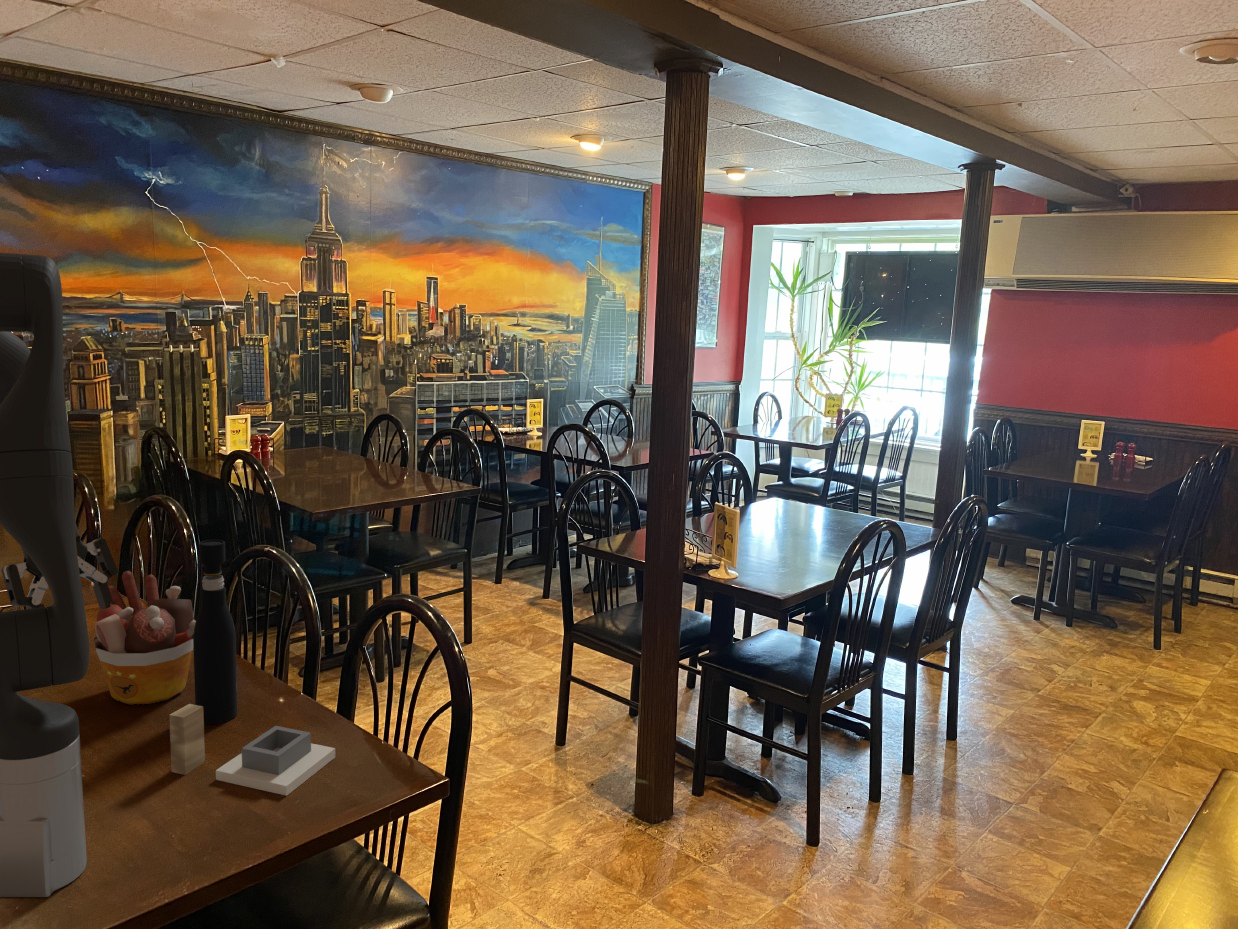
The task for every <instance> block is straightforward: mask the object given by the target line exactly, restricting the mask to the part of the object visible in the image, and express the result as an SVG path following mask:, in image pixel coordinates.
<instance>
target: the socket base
mask: <svg viewBox="0 0 1238 929" xmlns="http://www.w3.org/2000/svg"><path fill="white" fill-rule="evenodd" d="M335 758H336V748H335V747H331V746H326V745H322V744H315V743H312V732H309V731H304V730H299V729H295V728H288V727H284V726H279V725H274V726H273V727H271V728H270V729H268V730H267V731H265V732H264V733H262V734H261V735H259V736H258V737H257V738H255V739H254V740H252V741H250V742H249V743H247V744H246V745H245V746H243V747H241V753H239V754H238V755H236V756H235V757H234V758H232V759H230V760H229V761H228V762H226V763H225V764H223V765H221V766H220V767H219V768H216V770H215V780H216V781H219V782H224V783H228V784H234V785H238V786H242V787H247V788H251V789H255V790H260V791H263V792H264V791H265V792H269V793H273V794H277V795H282V796H286V797H287V796H289V795H290V794H291V793H293V791H295V790H296V789H297V788H299V787H300V786H301V785H302V784H304V783H305V782H306V781H307V780H309V779H310V778H312V776H314V775H315V774H316V773H318V772H319V771H320V770H321V769H323V768H324V767H325V766H326V765H328V764H329V763H330V762H331V761H333V760H334V759H335Z"/></svg>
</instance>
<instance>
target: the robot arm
mask: <svg viewBox="0 0 1238 929" xmlns="http://www.w3.org/2000/svg"><path fill="white" fill-rule="evenodd" d="M63 306H64V305H63V289H62V279H61V274H60V272H59V268H58V266H57V263H56V262H55V261H54V260H53V259H52V258H51V257H49V256H45V255H41V254H27V253H14V252H13V253H12V252H0V525H1V526H2V528H3V529H4V530H5V531H6V532H7V533H8V534H9V535H10V536H11V537H12V538H13V539H14V541H16V542H17V543H18V545H19V547H20V549H21V552H22V554H23V562H21V563H16V564H14V563H13V564H12V563H11V564H8V565H4V566H2V568H1V574H2V578H3V582H4V585H5V589H6V593H7V596H8V600H9V604H10V605H11V606H12V607H26V609H25V608H24V609H18V610H17V609H16V610H10V611H9V610H8V611H2V612H1V611H0V898H3V897H4V898H7V897H8V898H47V897H50V896H51V894H53V893H54V892H55V891H57V890H59V889H61V888H63V887H65V886H67V885H69V884H70V883H72V882H73V881H75V880H76V879H77V878H78V877H80V876H81V874H82V873H83V872H84V871H85V869H86V868H87V862H88V861H87V860H88V859H87V846H86V844H87V843H86V828H85V809H84V794H83V792H84V791H83V777H82V775H83V774H82V773H83V772H82V759H81V757H82V754H81V753H82V752H81V739H80V720H79V716H78V714H77V712H76V710H75V709H74V708H73V707H70V706H68V705H66V704H64V703H63V704H62V703H58V702H52V701H45V700H38V699H33V698H30V697H28V696H24V695H23V694H20V693H18V692H24V691H31V690H35V689H36V690H37V689H41V688H49V687H51V686H53V687H54V686H59V685H65V684H70V683H75V682H78V681H81V680H82V679H84V677H85V676H86V675H87V672H88V669H89V665H90V638H89V630H88V629H89V628H88V623H87V616H86V608H85V602H84V592H83V588H82V579H81V578H84V579H86V580H88V581H89V582H91V583H92V584H93V585H94V586H92V589H93V593H94V595H95V599H96V602H97V604H98V608H99V610H100V609H106V608H109V607H110V603H112V596H111V593H110V590H109V585H108V581H109V580H110V579H111V578H112V577H114V576H115V575H117V574H118V573H119V570H118V567H117V565H116V562H115V560H114V558H113V555H112V552H111V550H110V547H109V545H108V543H107V540H106V539H105V538H101V537H100V538H96V539H94V540H92V541H91V542H88V543H86V544H85V543H84V542H83V541H82V539H81V535H80V532H79V529H78V526H77V523H76V515H75V514H76V512H75V510H76V508H75V488H74V486H75V485H74V471H73V470H74V469H73V457H72V456H73V455H72V447H71V437H70V436H71V435H70V430H69V422H68V412H67V403H66V396H65V395H66V392H65V379H64V378H65V376H64V312H63V310H64V308H63ZM13 332H15V333H25V332H27V333H31V334H32V335H33V342H32V346H31V349H30V348H29V347H28V345H27V344H26V343H25V342H24V341H23V340H22V339H21V338H20V337H18V336H17V335H16V334H15V333H13ZM88 552H89V553H90V554H91V555H93V556H95V558H96V561H97V562H98V566H99V568H100V571H101V572H100V571H99V570H98V569H97V568H96V567H95V566H93V565H92V564H90V563H89V562H87V561H85V559H86V557H87V555H88ZM25 571H27V572H28V573H30V574H31V575H33V577H32V580H31V583H30V585H29V592H28V594H27V595H25V591H24V587H23V583H22V578H23V577H24V572H25ZM48 588H49V591H50V593H51V596H52V600H53V604H52V605H50V606H45V603H42V602H43V598H44V595H45V593H46V591H47V590H48Z"/></svg>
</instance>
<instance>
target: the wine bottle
mask: <svg viewBox="0 0 1238 929" xmlns="http://www.w3.org/2000/svg"><path fill="white" fill-rule="evenodd" d="M198 550H199V551H198V555H199V556H198V557H199V563H200V564H201V565H203V566H204V567H203V569H204V572H203V575H204V576H203V577H202V580H201V583H202V584H201V586H202V587H201V588H200V608H199V609H198V610H199V611H198V613H197V617H196V619H195V621H196V623H195V628H194V634H193V673H194V674H193V675H194V676H193V677H194V679H193V680H194V705H198V706H203V713H204V725H216V724H217V725H218V724H222V723H226V722H229V721H232V719H235V718H236V717H237V715H238V679H237V678H238V675H237V673H238V672H237V671H238V670H237V636H236V635H237V634H236V627H235V623H234V619H233V617H232V613H231V611H230V609H229V607H228V604H227V588H226V587H225V582H224V581H225V578H224V576H223V574H222V564H224V563H225V562H226V542H225V540H221V539H206V540H202V541H199V543H198ZM221 574H222V575H221Z"/></svg>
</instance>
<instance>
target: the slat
mask: <svg viewBox="0 0 1238 929" xmlns="http://www.w3.org/2000/svg"><path fill="white" fill-rule="evenodd" d="M169 736H170V740H169V741H170V759H171V760H170V761H171V762H170V763H171V767H170V768H171V773H175V774H180V775H185V776H187V775H188V774H189V773H191V772H192V771H194V770H196V769H197V768H199V767H200V766H202V765H203V764H205V763H206V756H205V755H206V752H205V751H206V749H205V724H204V713H203V706H198V705H195V704H192V703H188V704H186V705H185V706H183V707H180V708H179V709H177V710H175V711H174V712H171V713H170V714H169Z"/></svg>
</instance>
